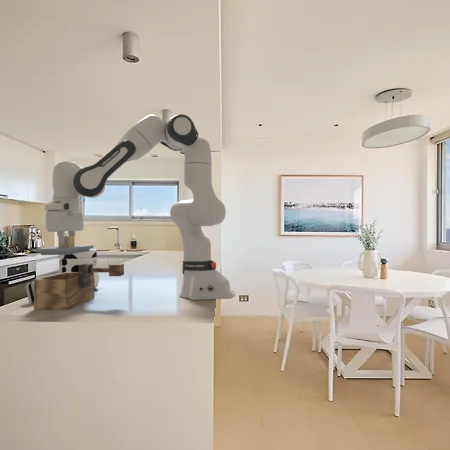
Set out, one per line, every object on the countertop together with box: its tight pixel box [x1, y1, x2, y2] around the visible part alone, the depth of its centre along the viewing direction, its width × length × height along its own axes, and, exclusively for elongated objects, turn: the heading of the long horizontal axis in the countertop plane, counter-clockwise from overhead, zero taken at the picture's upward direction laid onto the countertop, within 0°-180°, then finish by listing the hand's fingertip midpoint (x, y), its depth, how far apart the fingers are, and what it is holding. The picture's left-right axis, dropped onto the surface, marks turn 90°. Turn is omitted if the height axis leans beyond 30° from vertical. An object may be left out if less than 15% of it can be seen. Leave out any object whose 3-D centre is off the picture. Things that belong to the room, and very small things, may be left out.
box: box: [33, 264, 95, 311], centre depth 130 cm, size 15×20×14 cm
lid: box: [35, 235, 94, 256], centre depth 130 cm, size 11×19×6 cm, turn 176°
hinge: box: [25, 275, 48, 305], centre depth 137 cm, size 17×5×10 cm, turn 175°
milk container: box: [57, 248, 100, 289], centre depth 157 cm, size 17×17×18 cm
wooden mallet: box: [91, 263, 125, 277], centre depth 129 cm, size 11×4×4 cm, turn 86°
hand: (66, 243), depth 130 cm, fingers closed on lid, 4 cm apart
